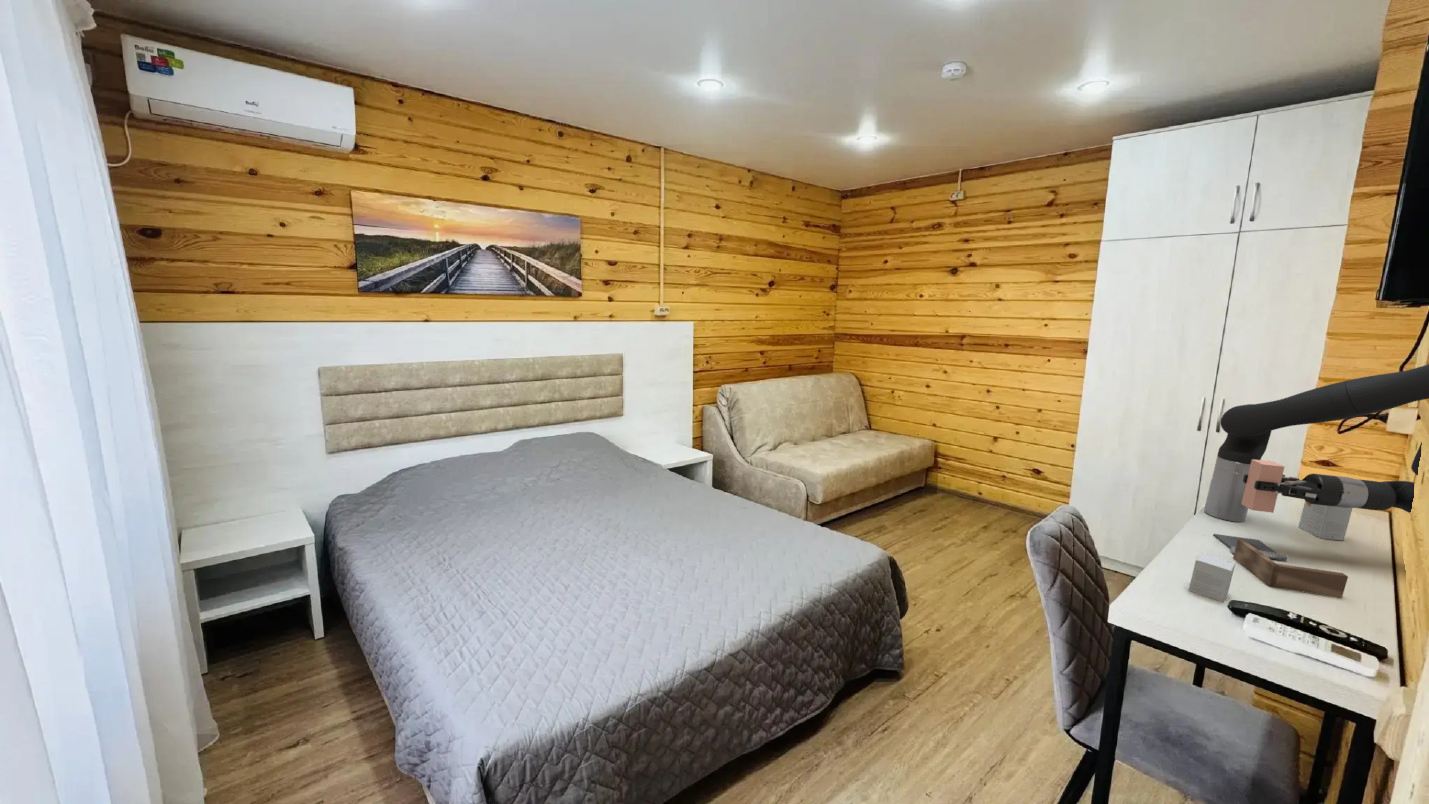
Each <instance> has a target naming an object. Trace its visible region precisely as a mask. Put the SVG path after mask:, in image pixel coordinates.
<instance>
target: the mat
mask: <svg viewBox="0 0 1429 804" xmlns="http://www.w3.org/2000/svg"><path fill="white" fill-rule="evenodd" d="M1214 536H1215V537H1216V538H1215V537H1214ZM1213 537H1214V538H1215V539H1217V540H1218V539H1219V540H1220V541H1219V540H1218V541H1219V542H1220V543H1222V544H1223V545H1225V546H1226V547H1227V548H1228V549H1230V548H1231V547H1236V545H1237V541H1238V539H1240V540H1244V541H1246V542H1247V543H1249V544H1250V545H1251V546H1253V547H1254V548H1255V549H1257V550H1259V551H1266V552H1273V553H1278V552H1277V551H1275V550H1274V549H1273V548H1271V547H1270V546H1268V545H1267V544H1266V543H1264V542H1263V541H1261V540H1259V539H1254V538H1247V537H1240V536H1233V535H1225V534H1219V533H1213Z"/></svg>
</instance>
